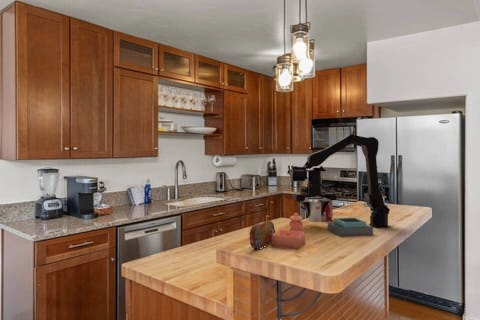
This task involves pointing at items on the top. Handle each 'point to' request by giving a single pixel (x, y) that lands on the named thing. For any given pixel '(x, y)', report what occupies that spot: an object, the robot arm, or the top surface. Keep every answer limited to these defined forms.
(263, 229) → the brown rounded slab
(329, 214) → the soda can
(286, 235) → the pottery
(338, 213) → the top surface
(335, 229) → the teal-collared square flange
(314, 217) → the grey rounded block
